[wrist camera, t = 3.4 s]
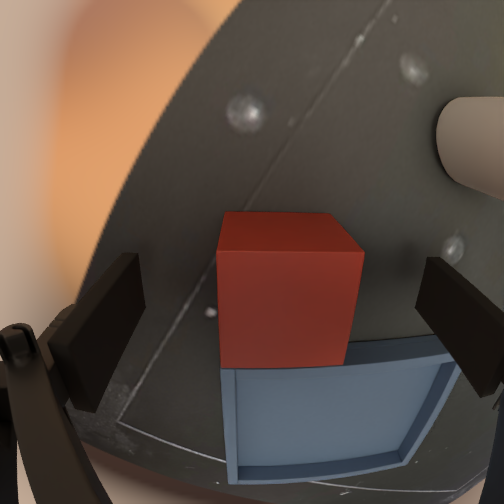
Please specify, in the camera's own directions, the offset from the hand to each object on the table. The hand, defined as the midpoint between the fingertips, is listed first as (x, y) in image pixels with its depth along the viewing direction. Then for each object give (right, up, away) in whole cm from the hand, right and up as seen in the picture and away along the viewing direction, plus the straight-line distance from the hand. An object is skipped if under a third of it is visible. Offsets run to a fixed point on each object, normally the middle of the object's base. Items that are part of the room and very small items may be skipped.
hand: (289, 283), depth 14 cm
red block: (0, +1, +2) cm, 2 cm away
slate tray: (+4, -10, +7) cm, 13 cm away
